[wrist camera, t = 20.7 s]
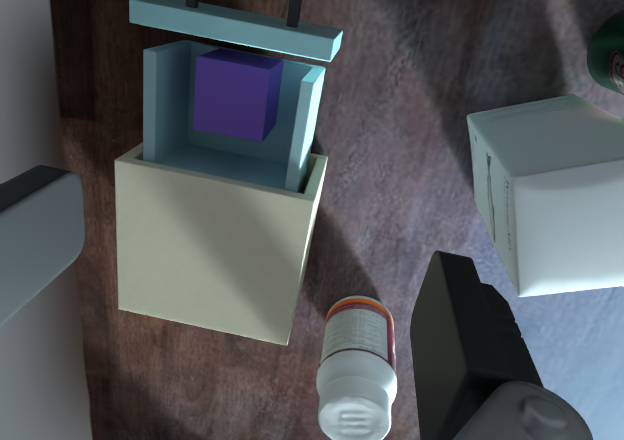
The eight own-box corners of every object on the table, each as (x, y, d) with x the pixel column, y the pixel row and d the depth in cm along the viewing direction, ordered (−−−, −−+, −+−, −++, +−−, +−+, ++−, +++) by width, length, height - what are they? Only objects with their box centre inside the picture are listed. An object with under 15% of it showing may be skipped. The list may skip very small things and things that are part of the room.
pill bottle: (382, 353, 44) (384, 461, 33) (319, 337, 44) (302, 440, 34) (402, 302, 41) (411, 403, 31) (334, 285, 41) (321, 380, 31)
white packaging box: (463, 112, 33) (509, 172, 22) (575, 91, 32) (687, 145, 20) (471, 205, 36) (515, 300, 25) (574, 190, 35) (670, 285, 23)
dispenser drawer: (181, -106, 29) (127, -134, 22) (362, -72, 28) (358, -91, 22) (172, 145, 36) (130, 177, 30) (316, 174, 36) (303, 213, 29)
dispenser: (170, 123, 36) (113, 159, 28) (328, 155, 36) (314, 201, 28) (166, 249, 41) (118, 309, 34) (304, 278, 41) (287, 346, 33)
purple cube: (219, 48, 31) (196, 55, 27) (283, 60, 31) (270, 69, 27) (214, 113, 33) (192, 129, 29) (275, 124, 33) (262, 142, 29)
